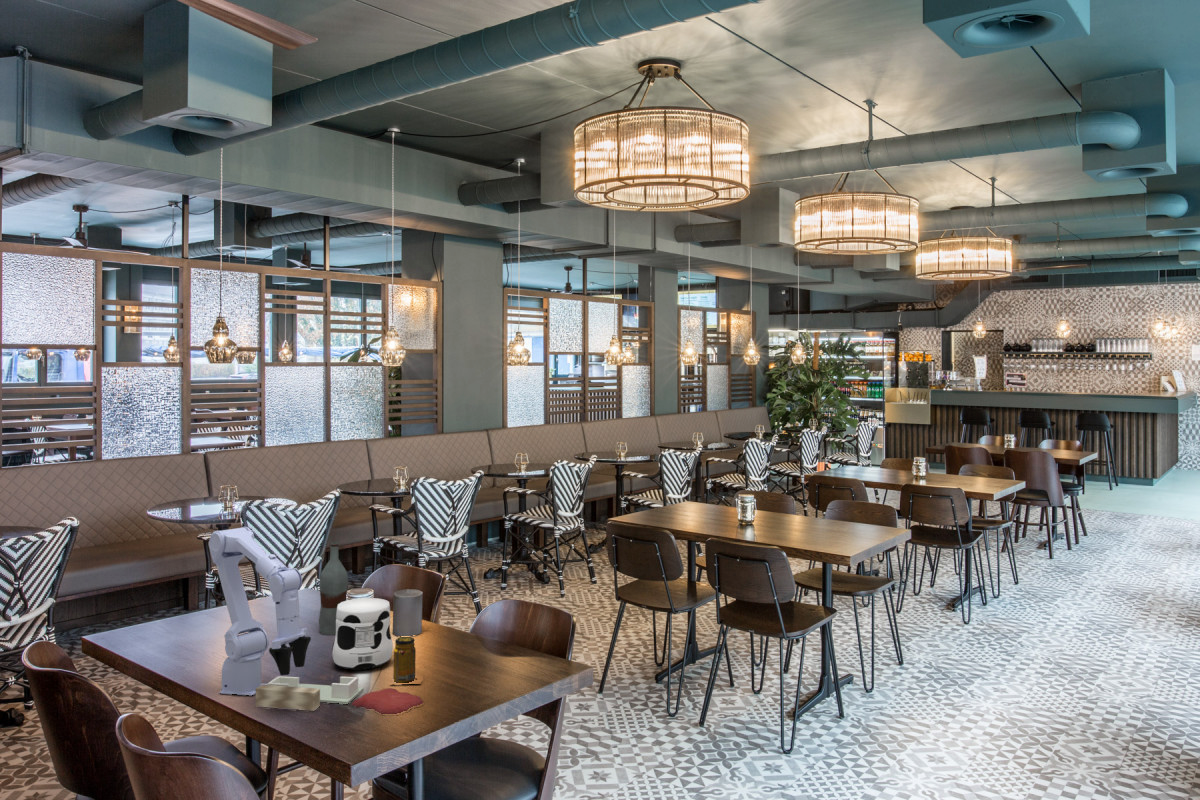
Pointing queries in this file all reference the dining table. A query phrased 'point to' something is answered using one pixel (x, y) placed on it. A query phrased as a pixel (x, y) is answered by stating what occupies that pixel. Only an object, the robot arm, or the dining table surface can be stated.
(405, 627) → the pillar candle
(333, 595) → the bottle
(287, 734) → the dining table surface
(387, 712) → the patty
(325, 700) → the cap board
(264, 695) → the slat
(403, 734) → the dining table surface
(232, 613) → the robot arm
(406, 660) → the condiment
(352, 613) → the milk container
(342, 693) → the end caps
